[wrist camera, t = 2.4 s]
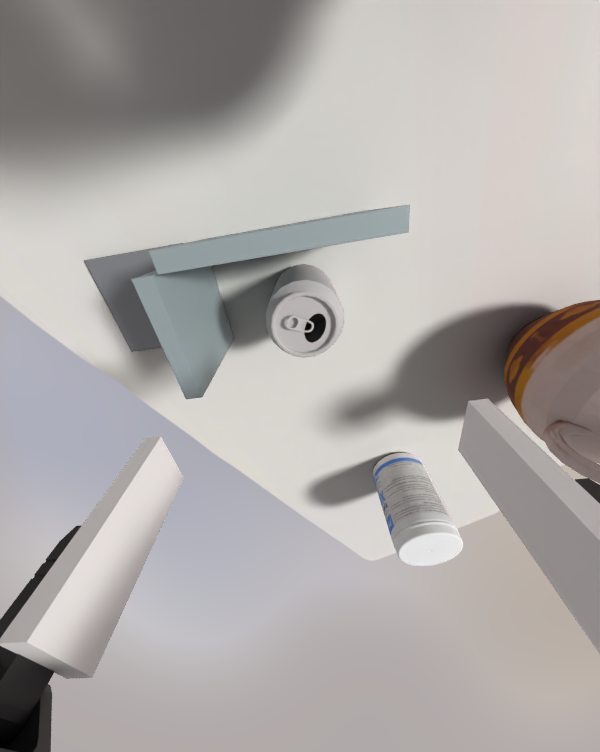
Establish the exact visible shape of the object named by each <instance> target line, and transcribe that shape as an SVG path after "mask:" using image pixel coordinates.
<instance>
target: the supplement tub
mask: <svg viewBox="0 0 600 752" xmlns="http://www.w3.org/2000/svg"><path fill="white" fill-rule="evenodd" d="M373 477H374V481H375V484H376V488H377V491H378V495H379V498H380V501H381V505H382V508H383V511H384V515H385V518H386V521H387V525H388V528H389V532H390V535H391V538H392V541H393V544H394V547H395V549H396V551H397V554H398V557H399V558H400V559H401V560H402V561H403V562H405V563H407V564H410V565H416V566H428V565H435V564H439V563H443V562H445V561H448V560H450V559H452V558H453V557H455V556H456V555H457V554H459V553H460V551H461V550H462V547H463V542H462V539H461V538H460V535H459V532H458V530H457V528H456V526H455V524H454V522H453V520H452V518H451V516H450V514H449V512H448V510H447V508H446V506H445V504H444V502H443V500H442V499H441V497H440V495H439V493H438V491H437V489H436V487H435V485H434V483H433V481H432V479H431V477H430V476H429V474H428V472H427V470H426V468H425V466H424V464H423V462H422V461H421V460H420V459H419V458H418V457H416V456H414V455H412V454H409V453H395V454H391V455H388V456H386V457H384V458H383V459H381V460H380V461H379V462H378V463H377V464H376V465H375V467H374V470H373Z"/></svg>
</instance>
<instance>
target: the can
mask: <svg viewBox="0 0 600 752" xmlns="http://www.w3.org/2000/svg"><path fill="white" fill-rule="evenodd" d="M265 322H266V327H267V331H268V333H269V335H270V337H271V339H272V340H273V342H274V343H275V344H276V345H277V346H278V347H279V348H280V349H282V350H283V351H285V352H287V353H289V354H291V355H293V356H298V357H312V356H316V355H318V354H320V353H323V352H324V351H326V350H327V349H328V348H329V347H331V346H332V345H333V344H334V343H335V342H336V340H337V339H338V337H339V336H340V334H341V332H342V328H343V324H344V310H343V307H342V305H341V302H340V300H339V298H338V296H337V294H336V292H335V290H334V288H333V286H332V284H331V282H330V280H329V278H328V277H327V276H326V274H325V273H324V272H323V271H322V270H320V269H318V268H316V267H315V266H311V265H306V264H302V265H296V266H293V267H291V268H289V269H287V270H285V272H284V273H283V274H282V275H281V276H280V277H279V278H278V280H277V282H276V285H275V287H274V290H273V292H272V295H271V298H270V300H269V303H268V306H267V309H266V318H265Z"/></svg>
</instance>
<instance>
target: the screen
mask: <svg viewBox="0 0 600 752" xmlns="http://www.w3.org/2000/svg"><path fill="white" fill-rule="evenodd" d="M409 212H410V205H404V206H397V207H389V208H382V209H374V210H367V211H361V212H355V213H349V214H344V215H338V216H332V217H327V218H321V219H315V220H310V221H304V222H299V223H293V224H287V225H282V226H276V227H270V228H265V229H259V230H253V231H248V232H242V233H236V234H231V235H225V236H220V237H214V238H208V239H203V240H199V241H194V242H189V243H184V244H179V245H175V246H170V247H165V248H160V249H155V250H150V251H149V253H150V256H151V258H152V261H153V263H154V266H155V268H156V271H153V272H150V273H147V274H145V275H142V276H139V277H136V278H133V279H131V280H132V282H133V284H134V286H135V289H136V291H137V293H138V295H139V297H140V300H141V302H142V304H143V306H144V308H145V311H146V313H147V315H148V317H149V319H150V322H151V324H152V326H153V328H154V330H155V332H156V335H157V337H158V339H159V341H160V343H161V346H162V348H163V350H164V352H165V354H166V357H167V359H168V361H169V363H170V365H171V367H172V370H173V372H174V374H175V376H176V378H177V381H178V383H179V385H180V387H181V389H182V392H183V394H184V396H185V398H186V399H192V398H200V397H203V395H204V393H205V391H206V389H207V388H208V386H209V384H210V382H211V380H212V378H213V377H214V375H215V373H216V371H217V369H218V367H219V366H220V364H221V362H222V360H223V358H224V356H225V355H226V353H227V351H228V349H229V347H230V346H231V344H232V342H233V340H234V338H233V335H232V331H231V328H230V325H229V321H228V318H227V315H226V311H225V308H224V305H223V302H222V298H221V295H220V292H219V288H218V285H217V282H216V278H215V275H214V272H213V268H212V265H218V264H224V263H230V262H236V261H242V260H248V259H254V258H260V257H266V256H272V255H278V254H283V253H289V252H295V251H301V250H307V249H313V248H319V247H325V246H331V245H337V244H343V243H349V242H354V241H360V240H366V239H372V238H378V237H384V236H390V235H396V234H402V233H408V232H409Z"/></svg>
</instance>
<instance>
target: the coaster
mask: <svg viewBox="0 0 600 752" xmlns="http://www.w3.org/2000/svg"><path fill="white" fill-rule="evenodd" d="M180 244H183V243H180ZM175 245H179V244H174V245H169V246H163V247H157V248H152V249H146V250H141V251H135V252H129V253H124V254H118V255H112V256H107V257H101V258H95V259H90V260H84V261H85V263H86V265H87V267H88V269H89V271H90V272H91V274H92V276H93V278H94V280H95V282H96V284H97V286H98V288H99V290H100V292H101V293H102V295H103V297H104V299H105V301H106V303H107V305H108V307H109V309H110V311H111V312H112V314H113V316H114V318H115V320H116V322H117V324H118V326H119V328H120V330H121V332H122V333H123V335H124V337H125V339H126V341H127V343H128V345H129V347H130V349H131V351H132V352H133V351H140V350H147V349H153V348H160V347H162V346H161V343H160V341H159V339H158V337H157V335H156V332H155V330H154V328H153V326H152V324H151V322H150V319H149V317H148V315H147V313H146V311H145V308H144V306H143V304H142V302H141V300H140V297H139V295H138V293H137V291H136V289H135V286H134V284H133V282H132V280H131V279H133V278H136V277H139V276H142V275H145V274H147V273H150V272H153V271H156V268H155V266H154V263H153V261H152V258H151V256H150V253H149V251H150V250H155V249H160V248H165V247H170V246H175Z"/></svg>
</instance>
